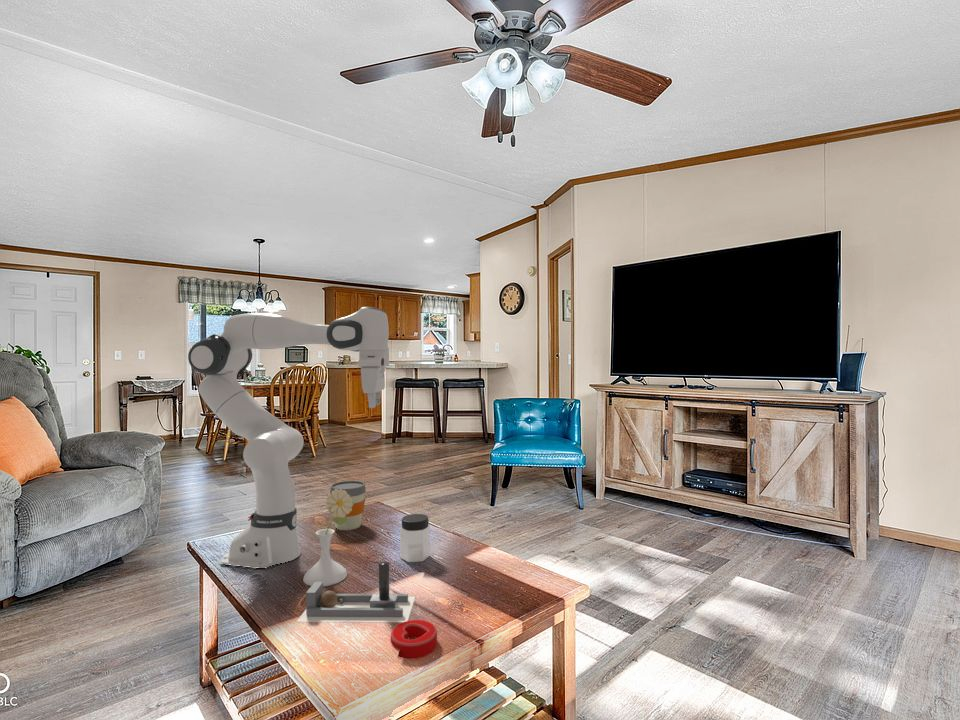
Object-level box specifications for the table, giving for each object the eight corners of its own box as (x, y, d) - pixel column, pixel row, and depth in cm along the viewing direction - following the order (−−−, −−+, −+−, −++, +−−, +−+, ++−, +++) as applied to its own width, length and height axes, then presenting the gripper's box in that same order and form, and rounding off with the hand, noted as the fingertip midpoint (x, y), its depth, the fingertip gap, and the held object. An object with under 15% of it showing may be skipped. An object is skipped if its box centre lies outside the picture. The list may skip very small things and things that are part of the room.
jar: (434, 558, 148) (434, 518, 148) (411, 565, 143) (411, 524, 143) (418, 549, 155) (418, 511, 155) (396, 555, 150) (396, 516, 150)
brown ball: (317, 612, 114) (317, 595, 114) (323, 603, 118) (323, 587, 118) (334, 612, 113) (334, 595, 113) (339, 604, 117) (339, 587, 117)
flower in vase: (306, 596, 125) (305, 498, 125) (300, 578, 135) (299, 488, 135) (357, 585, 131) (357, 491, 131) (348, 569, 141) (347, 482, 141)
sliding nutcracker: (296, 628, 110) (296, 599, 110) (315, 601, 122) (315, 575, 122) (407, 628, 109) (407, 599, 109) (415, 602, 121) (415, 576, 121)
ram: (369, 611, 114) (369, 566, 114) (373, 604, 117) (372, 560, 117) (395, 611, 113) (395, 566, 113) (398, 604, 117) (397, 560, 117)
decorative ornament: (443, 651, 101) (443, 636, 101) (399, 665, 96) (398, 649, 96) (427, 629, 109) (427, 614, 109) (385, 640, 105) (385, 625, 105)
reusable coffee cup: (323, 531, 173) (323, 488, 173) (339, 519, 185) (339, 480, 185) (357, 532, 171) (357, 490, 171) (371, 521, 183) (370, 481, 183)
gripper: (369, 360, 157) (369, 403, 157) (357, 360, 137) (357, 409, 137) (389, 360, 158) (389, 403, 158) (379, 360, 137) (380, 409, 137)
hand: (374, 406), depth 147 cm, fingers open, 8 cm apart
